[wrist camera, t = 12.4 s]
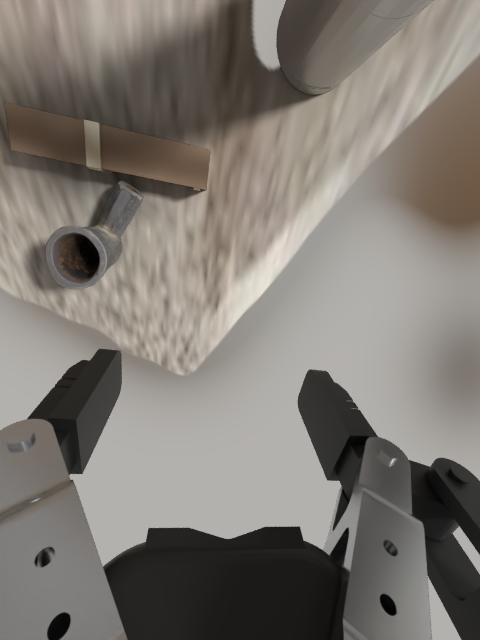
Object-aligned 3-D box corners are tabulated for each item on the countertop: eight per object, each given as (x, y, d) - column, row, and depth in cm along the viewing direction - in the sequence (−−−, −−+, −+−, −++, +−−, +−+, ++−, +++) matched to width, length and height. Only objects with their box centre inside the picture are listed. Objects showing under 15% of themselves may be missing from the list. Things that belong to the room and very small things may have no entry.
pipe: (157, 203, 33) (143, 205, 26) (111, 281, 37) (87, 301, 30) (113, 170, 31) (83, 162, 24) (68, 255, 35) (31, 271, 28)
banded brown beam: (27, 111, 28) (1, 100, 25) (210, 153, 31) (210, 148, 28) (33, 157, 30) (10, 152, 26) (205, 192, 33) (205, 192, 30)
